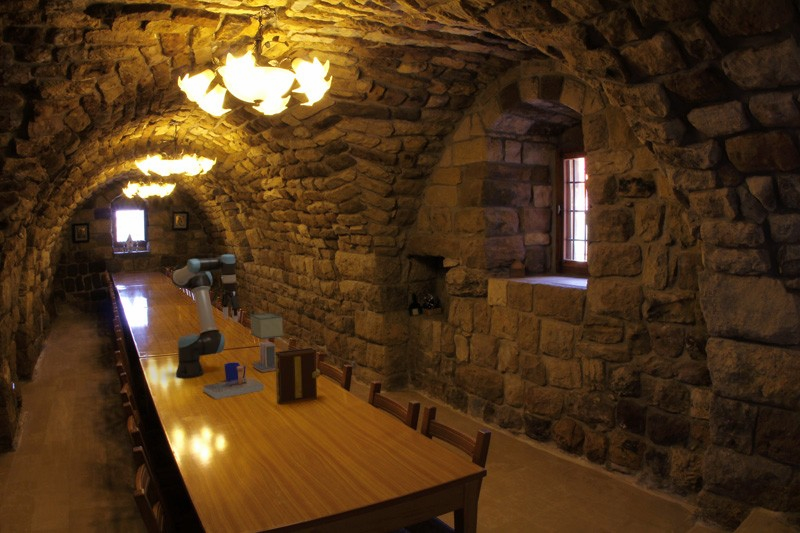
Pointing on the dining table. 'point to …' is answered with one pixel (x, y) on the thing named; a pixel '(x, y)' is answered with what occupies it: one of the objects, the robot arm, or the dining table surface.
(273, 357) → the desk lamp
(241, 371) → the headed peg
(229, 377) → the mug
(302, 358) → the book
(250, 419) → the dining table surface
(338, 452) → the dining table surface
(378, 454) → the dining table surface
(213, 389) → the keyhole plate
